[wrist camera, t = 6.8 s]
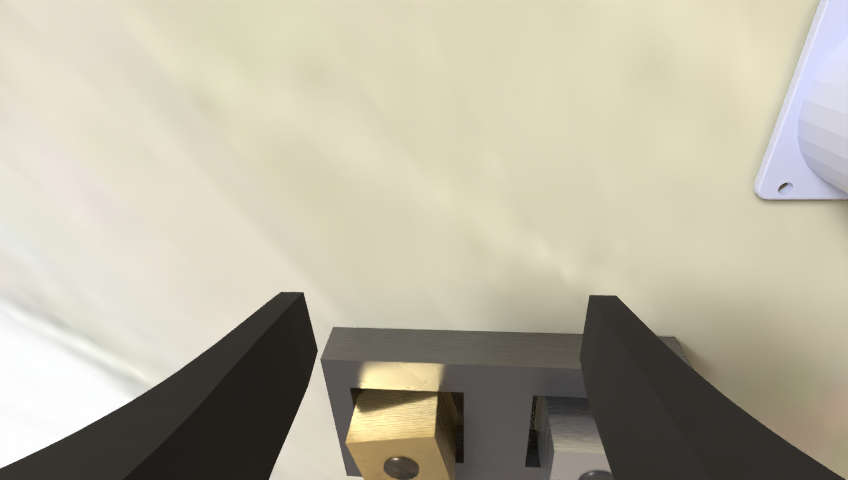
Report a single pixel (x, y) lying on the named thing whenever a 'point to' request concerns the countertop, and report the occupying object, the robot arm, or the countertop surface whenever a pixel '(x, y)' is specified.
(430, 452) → the tan wooden block
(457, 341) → the grey square-hole board
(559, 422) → the zinc cube
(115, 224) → the countertop surface
